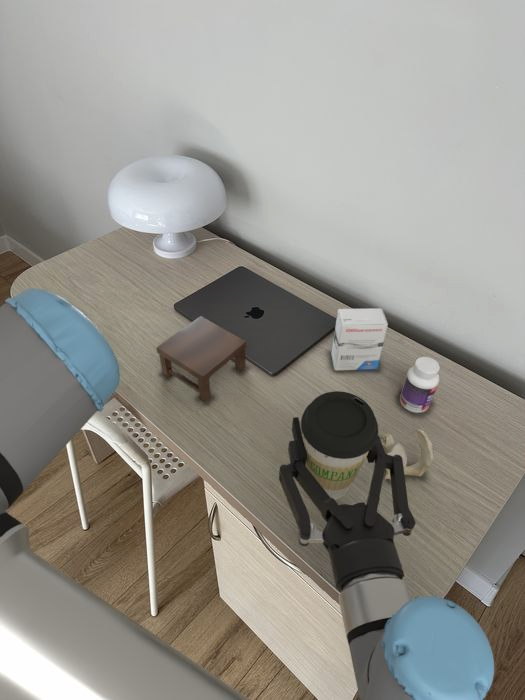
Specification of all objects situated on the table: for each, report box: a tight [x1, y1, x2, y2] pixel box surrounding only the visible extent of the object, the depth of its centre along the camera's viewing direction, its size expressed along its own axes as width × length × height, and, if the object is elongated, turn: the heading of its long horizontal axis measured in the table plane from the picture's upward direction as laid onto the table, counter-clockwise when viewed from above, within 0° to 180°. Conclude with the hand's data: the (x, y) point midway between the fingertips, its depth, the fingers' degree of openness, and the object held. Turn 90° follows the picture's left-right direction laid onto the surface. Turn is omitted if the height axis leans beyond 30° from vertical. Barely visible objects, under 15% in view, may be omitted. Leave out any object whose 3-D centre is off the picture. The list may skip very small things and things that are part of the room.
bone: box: [380, 428, 435, 482], centre depth 76 cm, size 9×6×10 cm
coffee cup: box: [300, 390, 379, 501], centre depth 66 cm, size 10×10×15 cm
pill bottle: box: [399, 356, 440, 414], centre depth 86 cm, size 5×5×10 cm
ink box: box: [330, 308, 389, 371], centre depth 92 cm, size 8×5×12 cm, turn 93°
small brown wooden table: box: [156, 315, 247, 403], centre depth 92 cm, size 12×12×7 cm
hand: (327, 420), depth 69 cm, fingers closed on coffee cup, 9 cm apart
